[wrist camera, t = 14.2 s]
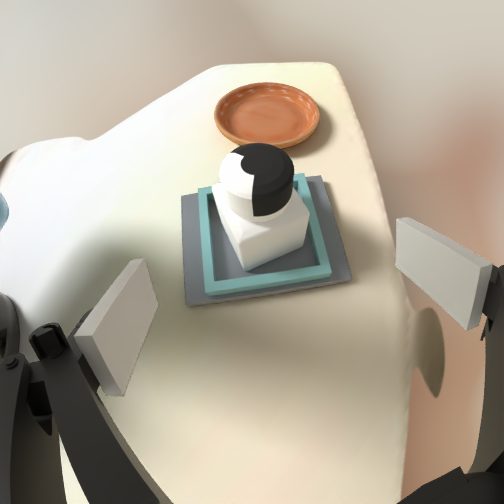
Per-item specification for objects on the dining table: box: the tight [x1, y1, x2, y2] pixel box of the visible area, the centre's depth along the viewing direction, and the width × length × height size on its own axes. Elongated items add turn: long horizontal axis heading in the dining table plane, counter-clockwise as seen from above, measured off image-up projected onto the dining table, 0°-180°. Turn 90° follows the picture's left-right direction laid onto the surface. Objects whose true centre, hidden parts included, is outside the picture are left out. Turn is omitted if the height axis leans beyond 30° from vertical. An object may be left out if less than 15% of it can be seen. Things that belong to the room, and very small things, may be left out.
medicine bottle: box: [212, 143, 310, 271], centre depth 28 cm, size 7×7×12 cm
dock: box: [181, 173, 352, 306], centre depth 33 cm, size 18×14×3 cm
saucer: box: [214, 82, 320, 149], centre depth 42 cm, size 16×16×3 cm
